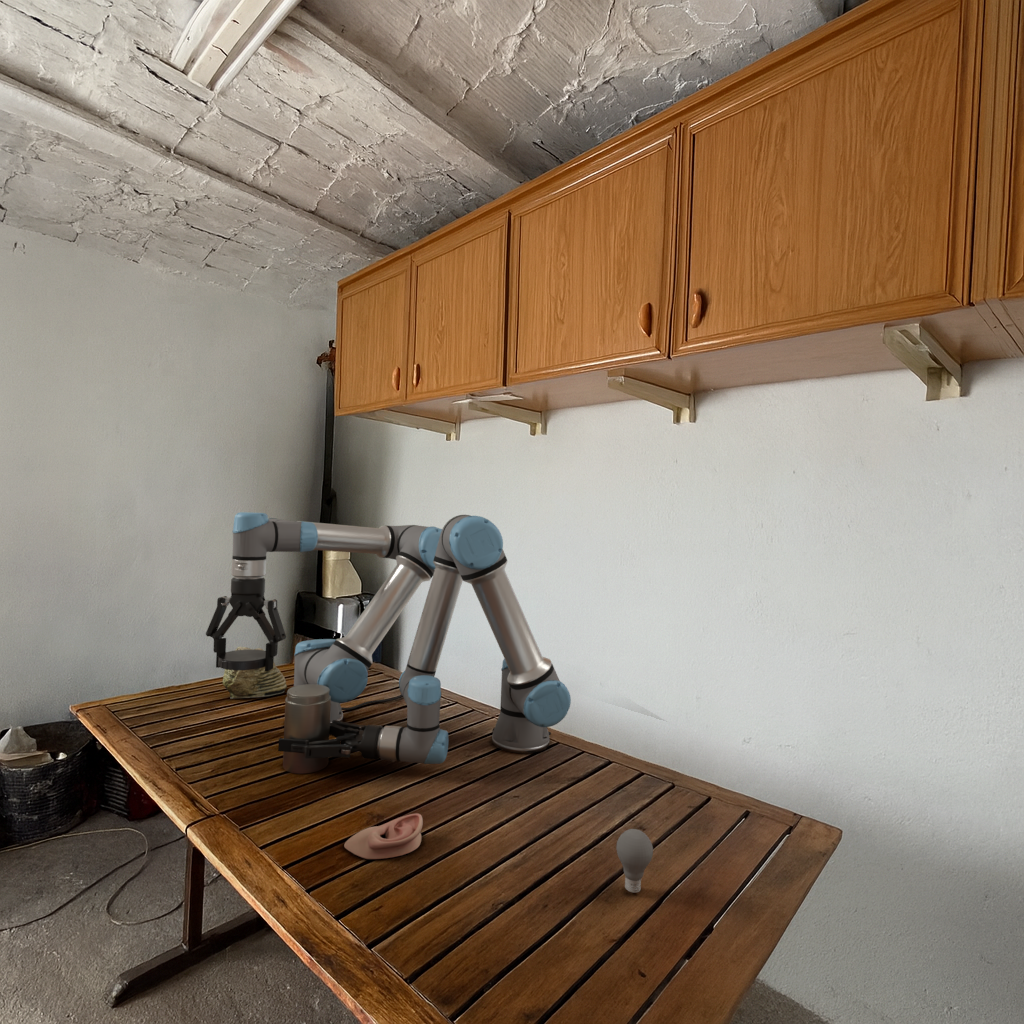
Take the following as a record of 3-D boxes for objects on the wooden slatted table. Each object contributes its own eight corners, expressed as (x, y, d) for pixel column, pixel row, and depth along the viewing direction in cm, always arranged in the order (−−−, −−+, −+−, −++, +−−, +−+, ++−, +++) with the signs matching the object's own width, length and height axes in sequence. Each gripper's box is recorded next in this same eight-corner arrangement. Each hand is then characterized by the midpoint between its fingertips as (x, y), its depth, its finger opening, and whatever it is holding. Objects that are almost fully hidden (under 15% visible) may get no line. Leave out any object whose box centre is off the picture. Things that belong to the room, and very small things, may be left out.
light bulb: (610, 879, 108) (613, 822, 108) (644, 879, 109) (647, 822, 109) (619, 902, 102) (622, 840, 102) (655, 901, 103) (658, 840, 103)
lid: (279, 660, 156) (280, 651, 156) (254, 672, 145) (255, 663, 145) (235, 656, 158) (236, 647, 158) (207, 668, 146) (207, 659, 146)
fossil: (218, 695, 195) (220, 647, 195) (278, 685, 208) (279, 640, 207) (228, 703, 189) (230, 653, 188) (289, 692, 201) (290, 645, 201)
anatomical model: (336, 832, 112) (364, 802, 124) (336, 854, 112) (363, 822, 124) (407, 843, 110) (429, 812, 121) (406, 866, 110) (428, 832, 121)
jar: (280, 775, 143) (283, 697, 143) (284, 756, 153) (287, 684, 153) (327, 772, 146) (330, 695, 145) (328, 754, 156) (331, 683, 155)
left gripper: (191, 575, 148) (188, 668, 149) (289, 581, 146) (285, 675, 146) (210, 572, 156) (206, 660, 156) (303, 578, 153) (299, 667, 154)
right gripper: (365, 779, 137) (266, 771, 138) (393, 740, 159) (308, 733, 161) (367, 745, 136) (267, 737, 138) (394, 710, 159) (309, 704, 161)
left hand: (244, 668), depth 151 cm, fingers closed on lid, 11 cm apart
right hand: (289, 735), depth 150 cm, fingers closed on jar, 10 cm apart
